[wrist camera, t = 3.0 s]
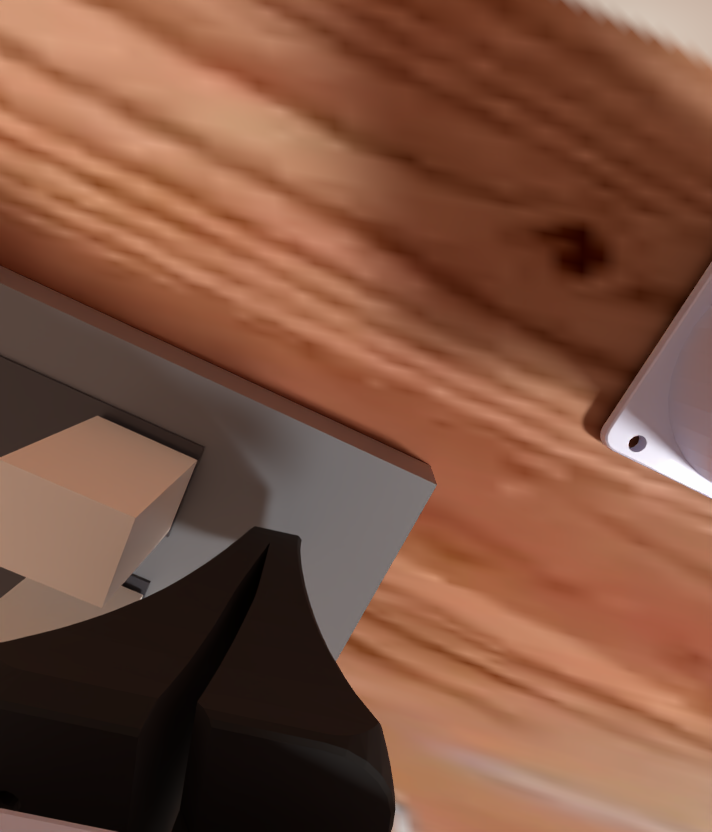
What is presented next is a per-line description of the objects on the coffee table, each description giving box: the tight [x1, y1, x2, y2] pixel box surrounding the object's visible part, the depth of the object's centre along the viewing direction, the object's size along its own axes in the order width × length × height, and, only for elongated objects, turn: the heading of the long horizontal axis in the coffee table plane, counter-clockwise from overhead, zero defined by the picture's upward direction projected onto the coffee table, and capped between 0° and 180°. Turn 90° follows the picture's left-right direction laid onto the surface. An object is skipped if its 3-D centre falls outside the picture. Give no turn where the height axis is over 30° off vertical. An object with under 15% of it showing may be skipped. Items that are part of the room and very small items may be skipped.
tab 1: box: [0, 416, 197, 608], centre depth 11 cm, size 3×2×3 cm
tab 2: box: [0, 577, 143, 642], centre depth 12 cm, size 3×2×3 cm
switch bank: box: [0, 266, 437, 661], centre depth 15 cm, size 16×17×2 cm
